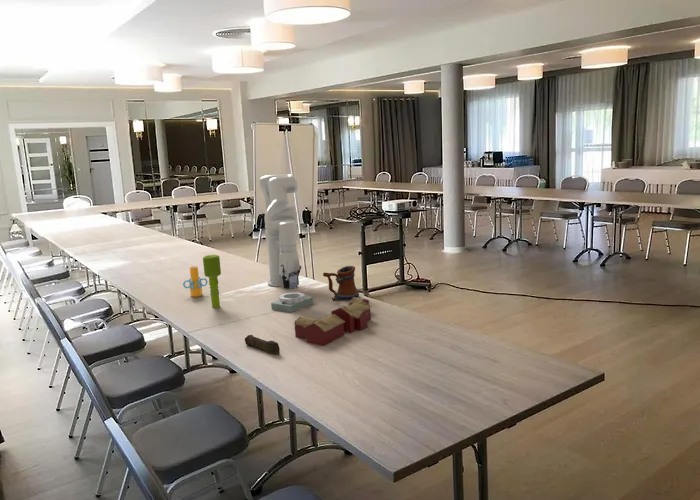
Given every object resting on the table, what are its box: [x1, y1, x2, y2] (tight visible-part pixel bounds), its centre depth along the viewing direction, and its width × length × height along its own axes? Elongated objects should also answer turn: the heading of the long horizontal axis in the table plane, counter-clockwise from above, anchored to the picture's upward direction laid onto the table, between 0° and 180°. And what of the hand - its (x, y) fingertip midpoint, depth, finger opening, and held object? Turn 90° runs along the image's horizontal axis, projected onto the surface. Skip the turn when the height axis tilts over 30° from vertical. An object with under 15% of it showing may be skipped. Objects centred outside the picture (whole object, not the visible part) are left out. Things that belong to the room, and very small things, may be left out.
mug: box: [322, 265, 360, 301], centre depth 278 cm, size 18×12×15 cm, turn 122°
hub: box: [284, 273, 299, 291], centre depth 269 cm, size 6×6×7 cm
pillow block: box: [270, 292, 314, 313], centre depth 271 cm, size 16×12×5 cm
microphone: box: [202, 254, 222, 309], centre depth 275 cm, size 8×8×25 cm
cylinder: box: [182, 265, 209, 298], centre depth 298 cm, size 12×10×15 cm
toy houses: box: [293, 297, 372, 347], centre depth 239 cm, size 45×20×10 cm, turn 144°
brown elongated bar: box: [244, 334, 281, 356], centre depth 217 cm, size 19×4×5 cm, turn 43°
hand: (291, 286), depth 270 cm, fingers closed on hub, 6 cm apart
